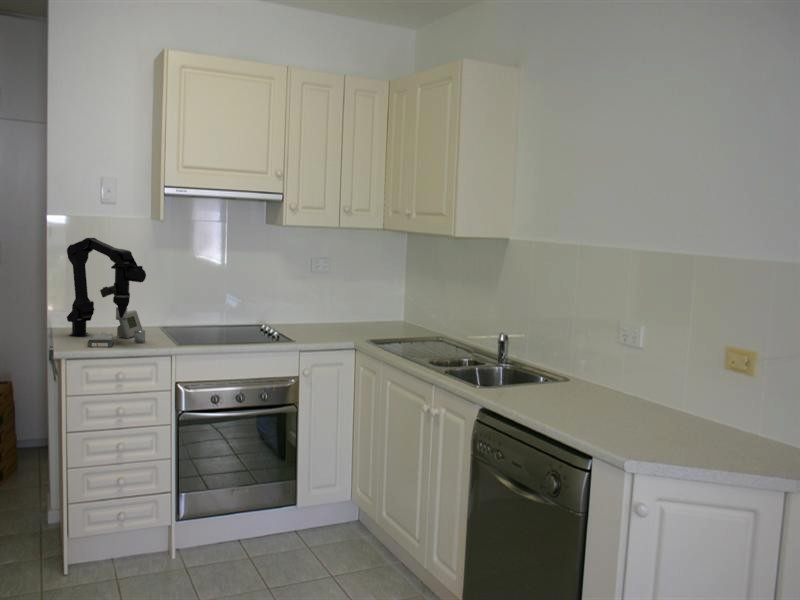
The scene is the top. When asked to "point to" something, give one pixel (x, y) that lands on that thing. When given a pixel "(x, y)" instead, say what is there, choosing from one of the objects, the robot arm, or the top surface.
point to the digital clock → (129, 325)
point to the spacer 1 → (119, 316)
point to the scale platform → (100, 336)
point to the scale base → (100, 343)
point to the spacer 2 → (139, 336)
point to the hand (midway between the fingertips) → (121, 316)
